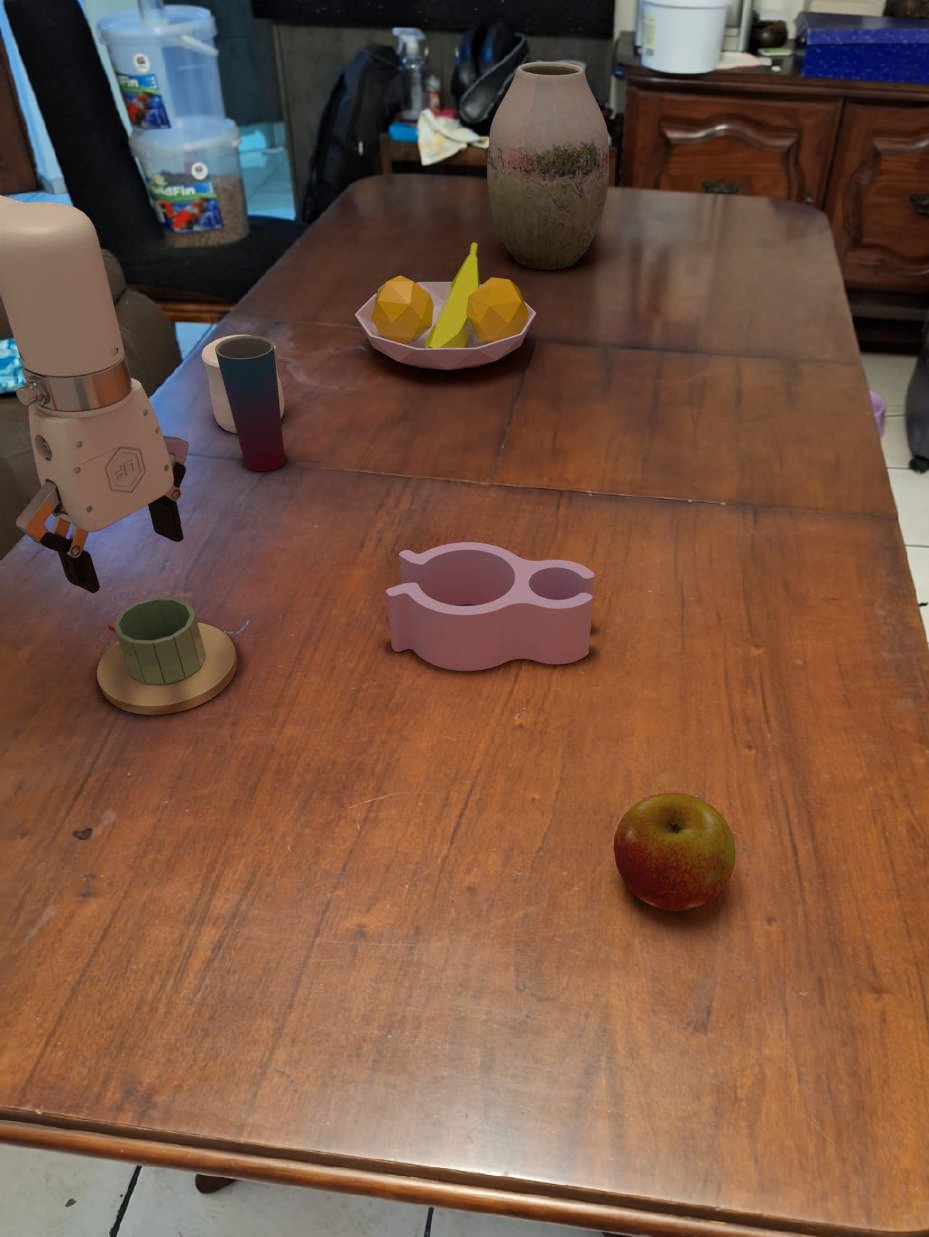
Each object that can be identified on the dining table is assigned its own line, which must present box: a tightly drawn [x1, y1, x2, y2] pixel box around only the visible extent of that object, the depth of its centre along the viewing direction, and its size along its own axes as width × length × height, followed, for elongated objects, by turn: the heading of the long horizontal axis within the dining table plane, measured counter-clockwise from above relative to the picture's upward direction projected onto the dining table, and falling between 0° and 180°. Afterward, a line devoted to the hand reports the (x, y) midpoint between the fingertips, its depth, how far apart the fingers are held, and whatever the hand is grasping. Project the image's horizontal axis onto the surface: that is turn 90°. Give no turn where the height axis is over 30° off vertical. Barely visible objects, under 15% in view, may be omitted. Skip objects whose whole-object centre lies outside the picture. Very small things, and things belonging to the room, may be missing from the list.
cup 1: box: [200, 334, 286, 434], centre depth 136 cm, size 10×10×10 cm
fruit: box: [613, 792, 736, 912], centre depth 80 cm, size 10×9×8 cm
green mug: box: [107, 596, 206, 685], centre depth 98 cm, size 10×7×5 cm
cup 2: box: [215, 334, 286, 472], centre depth 126 cm, size 7×7×15 cm
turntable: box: [96, 621, 238, 716], centre depth 100 cm, size 13×13×1 cm
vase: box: [486, 61, 610, 271], centre depth 178 cm, size 21×21×30 cm
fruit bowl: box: [354, 241, 537, 371], centre depth 154 cm, size 28×27×11 cm
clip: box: [385, 541, 595, 672], centre depth 103 cm, size 20×12×7 cm, turn 85°
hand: (129, 560), depth 92 cm, fingers open, 9 cm apart
